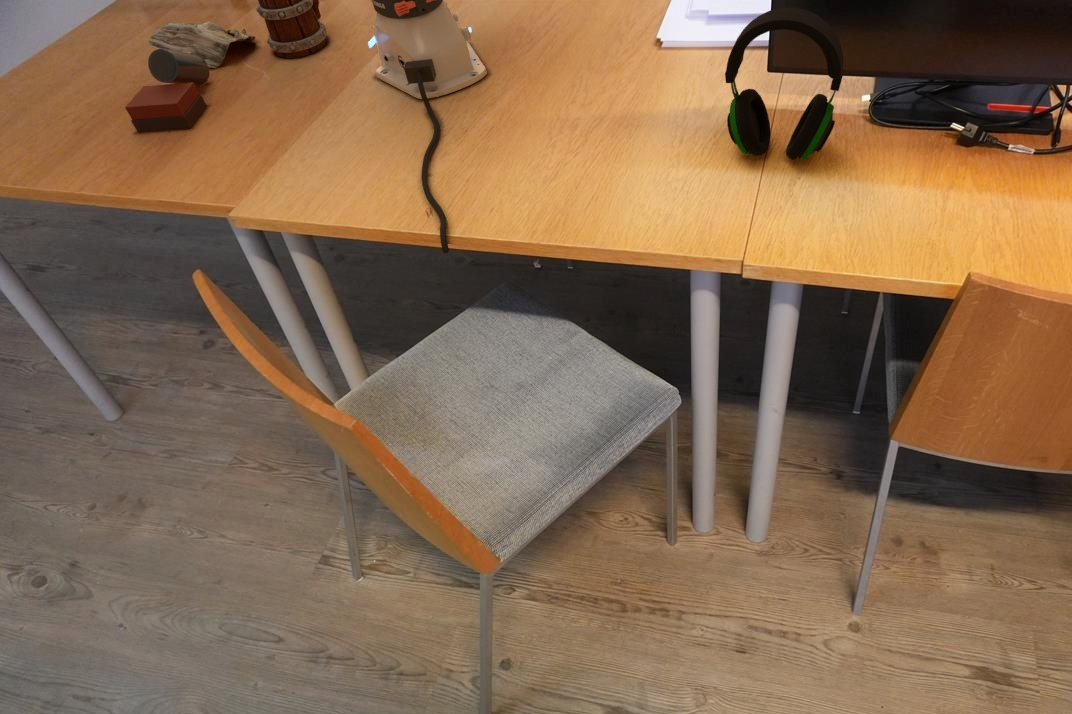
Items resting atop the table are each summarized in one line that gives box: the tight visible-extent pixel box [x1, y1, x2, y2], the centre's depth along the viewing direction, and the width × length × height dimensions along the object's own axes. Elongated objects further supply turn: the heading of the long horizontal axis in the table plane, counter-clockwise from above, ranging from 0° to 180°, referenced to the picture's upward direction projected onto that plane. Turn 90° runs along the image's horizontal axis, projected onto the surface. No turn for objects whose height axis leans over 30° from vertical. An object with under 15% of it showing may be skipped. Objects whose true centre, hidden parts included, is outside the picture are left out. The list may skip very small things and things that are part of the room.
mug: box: [255, 0, 328, 59], centre depth 152 cm, size 12×14×15 cm
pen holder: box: [147, 49, 211, 87], centre depth 142 cm, size 6×6×10 cm
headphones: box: [724, 6, 845, 161], centre depth 107 cm, size 9×16×20 cm, turn 71°
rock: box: [147, 20, 256, 69], centre depth 156 cm, size 23×7×15 cm
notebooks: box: [124, 82, 208, 133], centre depth 138 cm, size 8×10×5 cm
